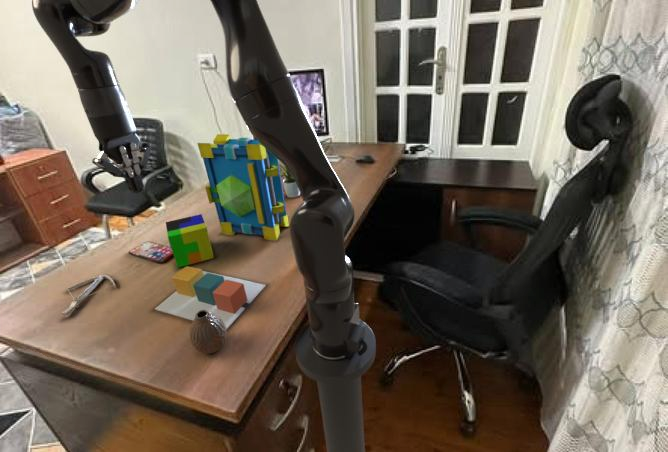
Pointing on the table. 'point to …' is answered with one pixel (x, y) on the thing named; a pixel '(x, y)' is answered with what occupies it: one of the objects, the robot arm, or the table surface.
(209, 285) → the teal block
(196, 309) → the desk mat
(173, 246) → the puzzle toy
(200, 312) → the vase
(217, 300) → the terracotta block
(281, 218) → the blue yellow-cornered frame
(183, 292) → the mustard block
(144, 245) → the smartphone
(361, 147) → the table surface
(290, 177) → the house plant
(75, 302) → the crossbow
